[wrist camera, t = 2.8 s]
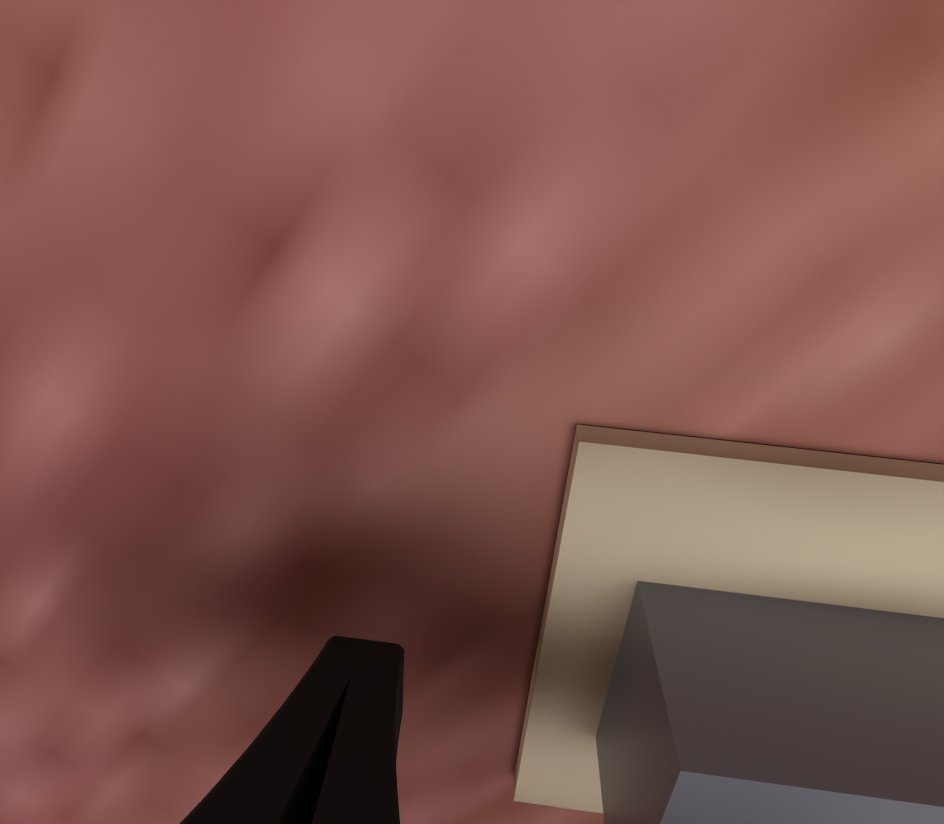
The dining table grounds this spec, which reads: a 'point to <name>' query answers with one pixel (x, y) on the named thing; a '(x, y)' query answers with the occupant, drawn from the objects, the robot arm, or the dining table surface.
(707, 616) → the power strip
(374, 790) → the robot arm
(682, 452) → the mount
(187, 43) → the dining table surface
